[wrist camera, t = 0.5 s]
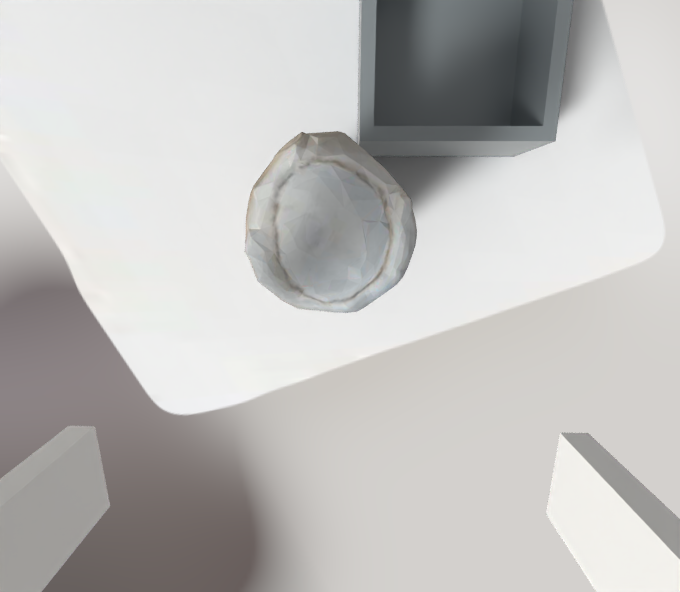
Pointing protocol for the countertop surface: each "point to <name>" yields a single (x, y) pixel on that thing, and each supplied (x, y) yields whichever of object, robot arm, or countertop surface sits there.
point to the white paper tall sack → (328, 225)
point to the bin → (460, 76)
